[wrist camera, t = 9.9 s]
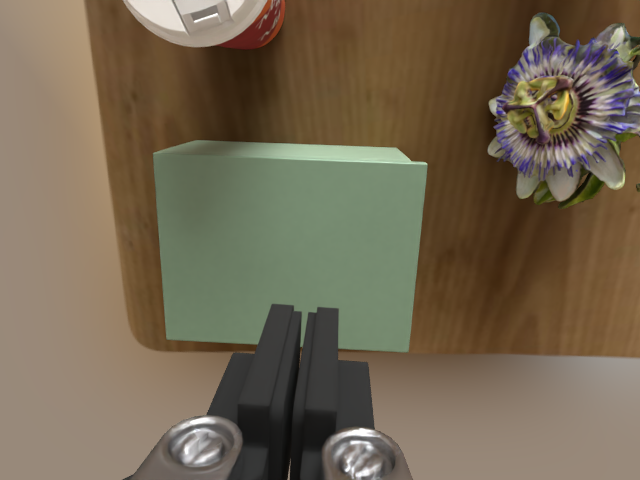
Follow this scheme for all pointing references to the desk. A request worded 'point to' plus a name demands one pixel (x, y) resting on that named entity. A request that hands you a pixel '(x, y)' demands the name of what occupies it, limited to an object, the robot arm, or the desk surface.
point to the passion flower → (568, 113)
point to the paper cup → (211, 21)
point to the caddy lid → (288, 244)
